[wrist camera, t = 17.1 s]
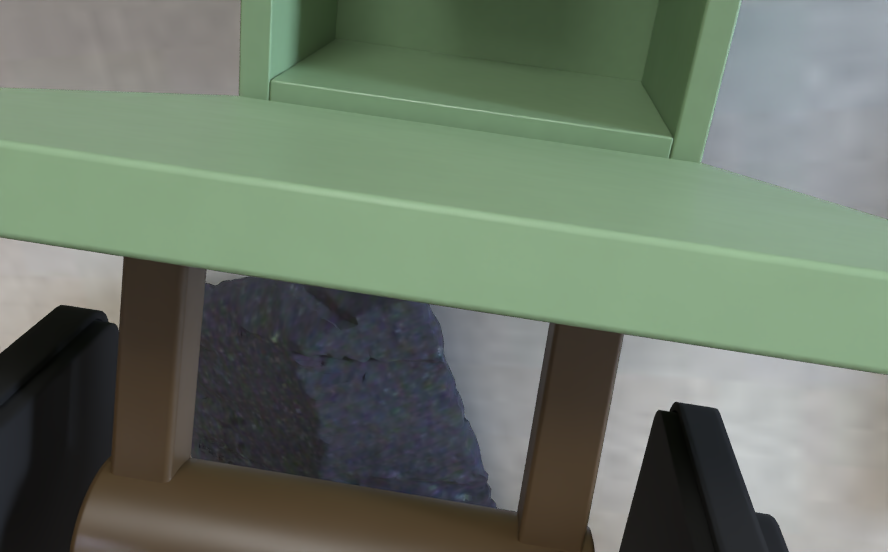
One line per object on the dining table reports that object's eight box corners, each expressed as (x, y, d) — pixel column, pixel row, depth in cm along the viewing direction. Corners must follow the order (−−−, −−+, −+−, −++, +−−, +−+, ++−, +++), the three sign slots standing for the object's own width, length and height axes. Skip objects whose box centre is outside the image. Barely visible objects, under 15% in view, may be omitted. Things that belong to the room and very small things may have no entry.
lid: (-459, 70, 7) (-415, 657, 8) (1238, 323, 6) (1033, 922, 7) (234, 95, 24) (218, 280, 25) (704, 163, 23) (667, 349, 25)
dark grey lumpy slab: (480, 244, 36) (472, 290, 31) (531, 640, 44) (529, 721, 40) (139, 274, 38) (86, 321, 33) (248, 646, 46) (218, 722, 42)
